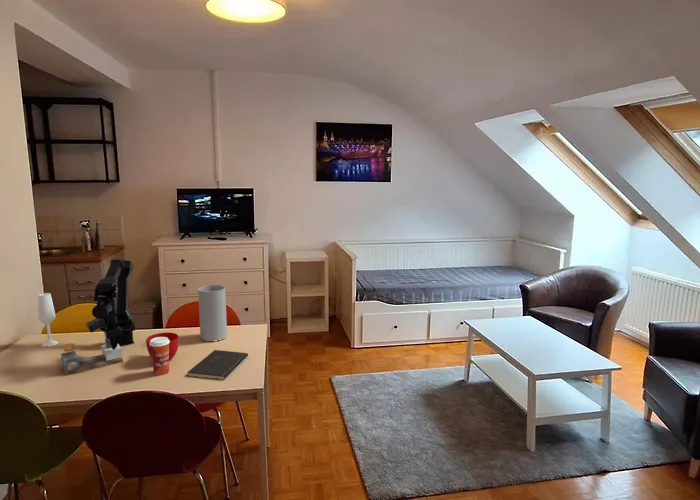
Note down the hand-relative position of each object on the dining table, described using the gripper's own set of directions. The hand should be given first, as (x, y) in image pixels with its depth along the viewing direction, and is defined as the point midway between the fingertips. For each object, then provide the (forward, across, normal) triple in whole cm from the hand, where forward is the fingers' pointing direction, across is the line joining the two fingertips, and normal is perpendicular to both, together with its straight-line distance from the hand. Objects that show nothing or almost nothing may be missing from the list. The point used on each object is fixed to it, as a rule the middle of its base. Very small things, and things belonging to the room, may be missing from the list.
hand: (111, 346), depth 195 cm
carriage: (+5, 0, 0) cm, 5 cm away
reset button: (-2, 0, -16) cm, 16 cm away
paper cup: (+6, +25, +13) cm, 29 cm away
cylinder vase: (+6, +1, +45) cm, 45 cm away
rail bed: (+6, 0, -8) cm, 10 cm away
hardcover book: (+7, +34, +34) cm, 48 cm away
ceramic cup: (+6, +11, +17) cm, 21 cm away
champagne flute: (+6, -37, -19) cm, 42 cm away
